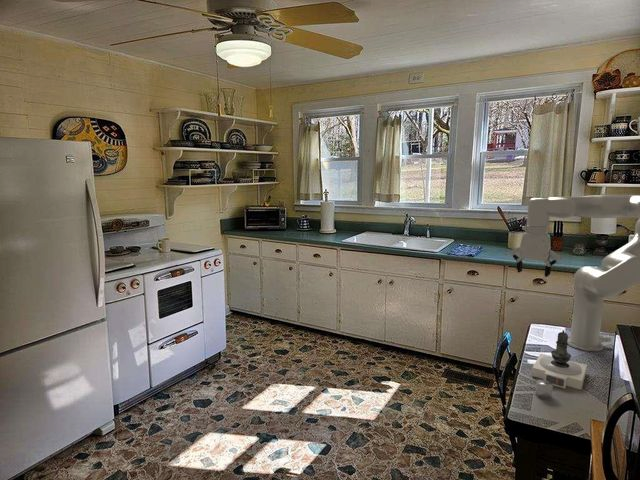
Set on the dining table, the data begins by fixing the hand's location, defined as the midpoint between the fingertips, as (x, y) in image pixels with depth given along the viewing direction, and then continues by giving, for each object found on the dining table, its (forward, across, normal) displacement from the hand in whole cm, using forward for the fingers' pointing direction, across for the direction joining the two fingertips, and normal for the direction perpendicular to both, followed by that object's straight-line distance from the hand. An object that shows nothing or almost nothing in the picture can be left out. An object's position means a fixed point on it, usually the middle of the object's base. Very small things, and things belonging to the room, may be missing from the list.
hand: (532, 274), depth 156 cm
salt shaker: (+25, +16, -20) cm, 36 cm away
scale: (+28, +16, -22) cm, 39 cm away
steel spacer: (+28, +16, -39) cm, 51 cm away
